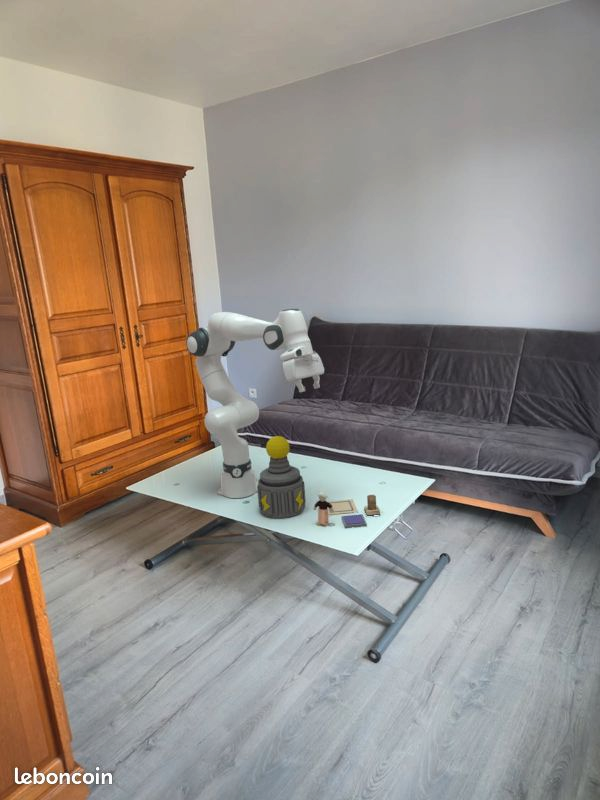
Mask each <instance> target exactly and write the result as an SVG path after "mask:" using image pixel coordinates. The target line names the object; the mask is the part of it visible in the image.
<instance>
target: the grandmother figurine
mask: <svg viewBox="0 0 600 800" xmlns="http://www.w3.org/2000/svg"><path fill="white" fill-rule="evenodd" d="M326 499H328V494H327V493H326V492H324V491H320V492H318V501H316V503H314V507H313V511H316V510H317V512H318V514H317V515H318V517H317V522H316V525H317V526H322V525H323V526H324V527H328V526H329V525H330V523H329V515H328V509H327V507H328V508H330V509H331V511H332V512H333V511H334V509H333V507H332V505H331V504H330V503H329V502H327V501H326ZM317 508H318V509H317Z"/></svg>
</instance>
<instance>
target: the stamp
mask: <svg viewBox="0 0 600 800" xmlns="http://www.w3.org/2000/svg"><path fill="white" fill-rule="evenodd" d="M366 497H367V498H366V499H367V500H366V501H367V502H366V503H367V505H364V506H363V507H364V510H363V511H365V512H364V514H365V513H366V514H365V516H366V515H367V516H372V517H375V516H374V515H380V516H381V510H380V507H379V506H378V504H377V496H376V495H375V494H367V496H366ZM367 516H366V517H367Z"/></svg>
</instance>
